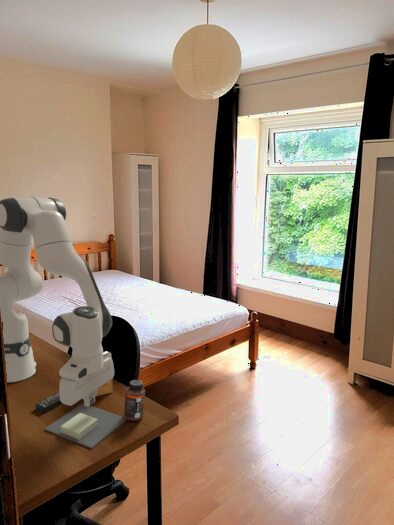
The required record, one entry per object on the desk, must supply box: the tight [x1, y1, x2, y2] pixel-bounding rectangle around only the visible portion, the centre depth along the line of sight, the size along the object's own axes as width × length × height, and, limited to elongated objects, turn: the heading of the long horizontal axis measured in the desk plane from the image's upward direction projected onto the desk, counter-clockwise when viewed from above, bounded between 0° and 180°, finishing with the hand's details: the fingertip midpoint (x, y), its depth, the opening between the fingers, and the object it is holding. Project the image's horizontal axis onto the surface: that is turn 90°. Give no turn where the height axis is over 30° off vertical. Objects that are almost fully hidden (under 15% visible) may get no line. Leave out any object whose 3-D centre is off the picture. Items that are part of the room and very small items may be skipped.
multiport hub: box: [34, 391, 63, 415], centre depth 137 cm, size 4×14×2 cm, turn 148°
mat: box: [44, 402, 128, 450], centre depth 125 cm, size 18×16×1 cm
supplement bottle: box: [123, 379, 146, 422], centre depth 128 cm, size 6×6×11 cm
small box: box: [89, 351, 113, 398], centre depth 143 cm, size 8×6×13 cm
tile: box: [61, 413, 98, 439], centre depth 122 cm, size 7×2×8 cm
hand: (89, 404), depth 125 cm, fingers closed
